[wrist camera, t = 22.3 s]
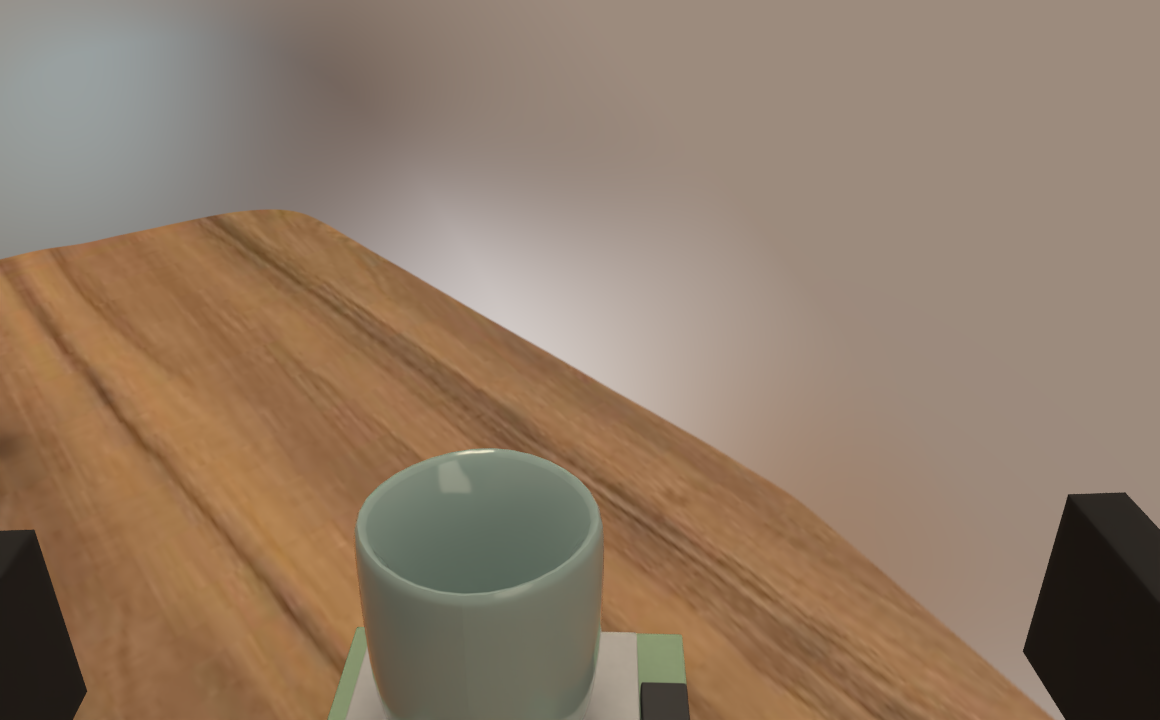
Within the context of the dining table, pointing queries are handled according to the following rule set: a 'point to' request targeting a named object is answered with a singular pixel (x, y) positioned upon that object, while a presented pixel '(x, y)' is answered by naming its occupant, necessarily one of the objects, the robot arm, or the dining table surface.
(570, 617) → the cup
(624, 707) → the scale
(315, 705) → the dining table surface
